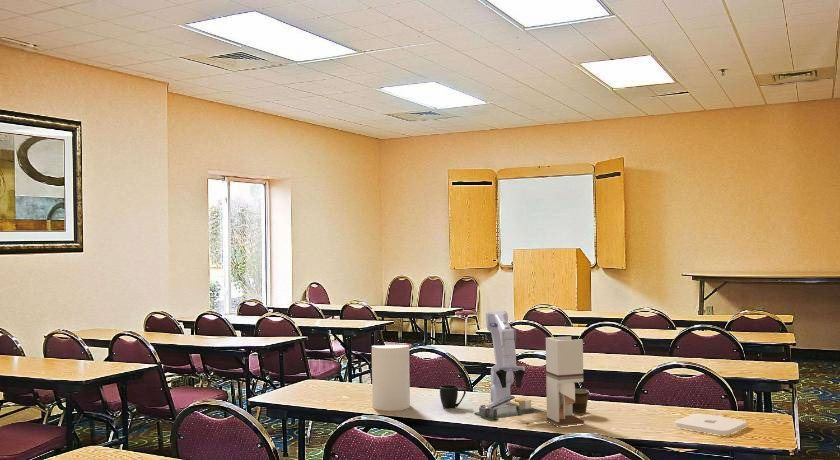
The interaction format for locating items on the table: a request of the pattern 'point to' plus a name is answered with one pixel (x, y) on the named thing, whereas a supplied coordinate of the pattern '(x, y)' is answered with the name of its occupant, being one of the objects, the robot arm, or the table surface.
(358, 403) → the table surface
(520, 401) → the block
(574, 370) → the coffee maker
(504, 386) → the robot arm
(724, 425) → the computer
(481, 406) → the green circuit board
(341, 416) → the table surface
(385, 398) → the cylinder
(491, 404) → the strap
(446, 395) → the mug
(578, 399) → the ceramic cup
